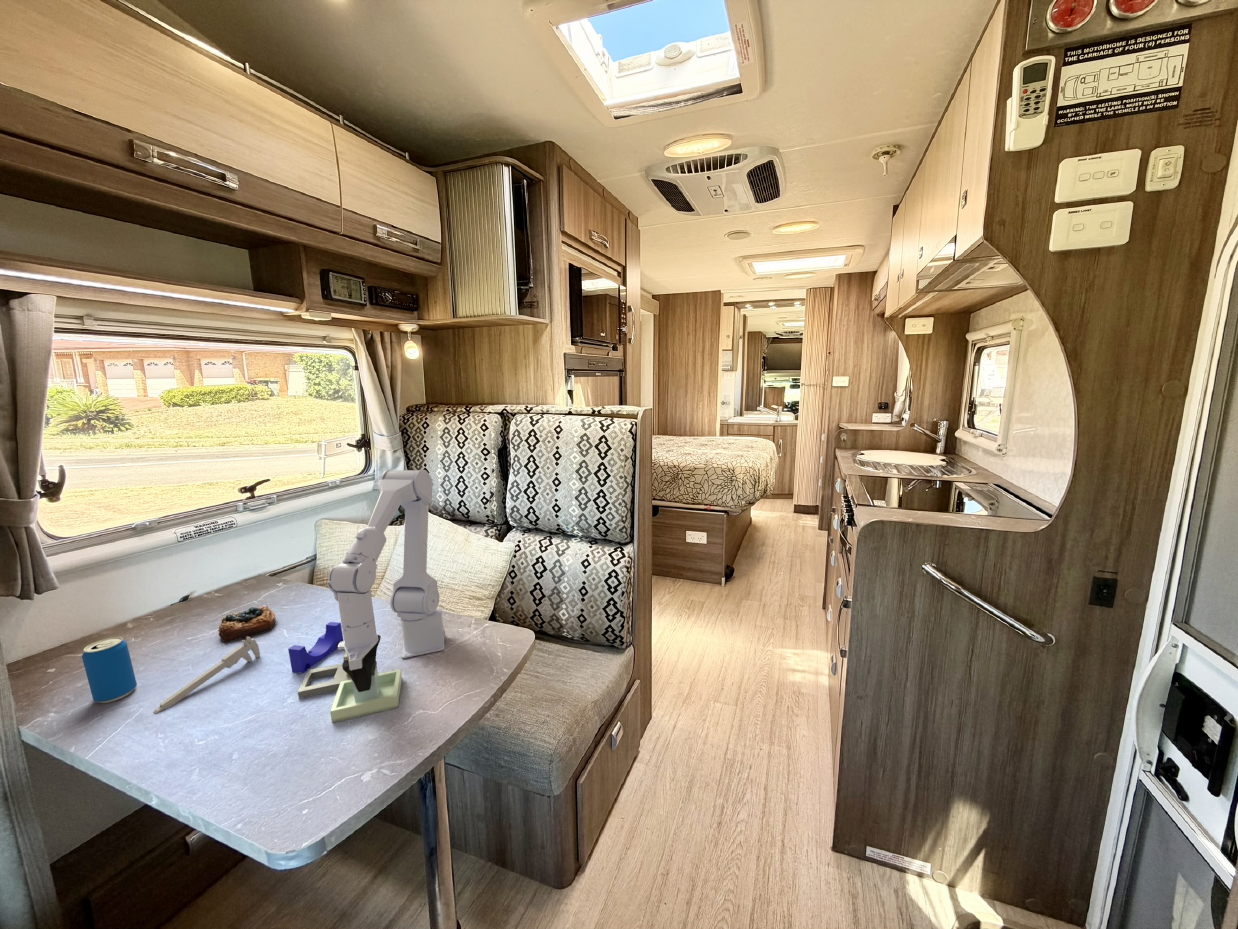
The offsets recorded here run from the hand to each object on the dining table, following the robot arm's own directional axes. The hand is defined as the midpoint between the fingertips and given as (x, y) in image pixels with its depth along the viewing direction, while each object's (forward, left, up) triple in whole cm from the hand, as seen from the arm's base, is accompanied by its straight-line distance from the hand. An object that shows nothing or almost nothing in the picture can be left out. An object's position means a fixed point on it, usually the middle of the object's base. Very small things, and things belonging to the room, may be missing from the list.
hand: (366, 681), depth 96 cm
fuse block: (+8, -10, -4) cm, 13 cm away
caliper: (+34, -20, -5) cm, 40 cm away
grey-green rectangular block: (0, 0, -4) cm, 4 cm away
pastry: (+35, -44, -5) cm, 57 cm away
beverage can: (+52, -22, -4) cm, 57 cm away
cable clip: (+14, -22, -5) cm, 27 cm away
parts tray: (0, 0, -4) cm, 4 cm away
